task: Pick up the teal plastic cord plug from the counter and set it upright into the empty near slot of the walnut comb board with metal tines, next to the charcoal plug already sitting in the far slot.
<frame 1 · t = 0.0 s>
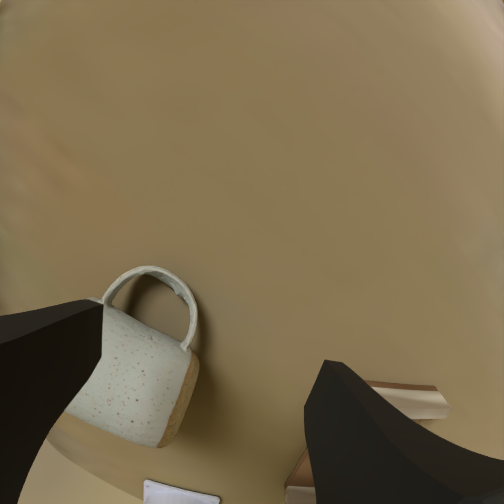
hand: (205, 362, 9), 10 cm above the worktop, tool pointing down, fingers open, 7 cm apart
ceramic mug: (144, 331, 20), on the worktop
comb board: (357, 444, 22), on the worktop
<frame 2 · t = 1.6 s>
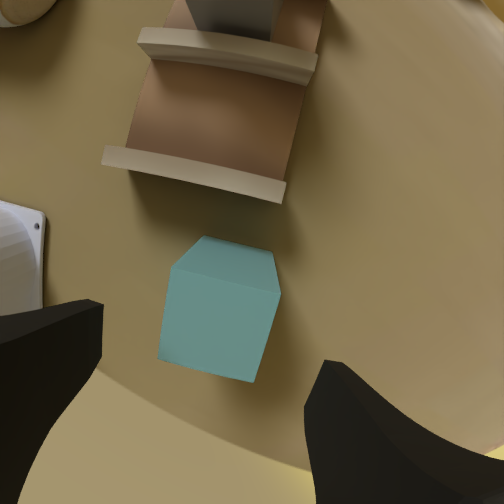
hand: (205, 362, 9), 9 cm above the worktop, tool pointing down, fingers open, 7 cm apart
teal plug: (230, 276, 18), on the worktop
grey plug: (243, 15, 14), point 1 cm above the worktop, touching comb board
comb board: (229, 65, 15), on the worktop
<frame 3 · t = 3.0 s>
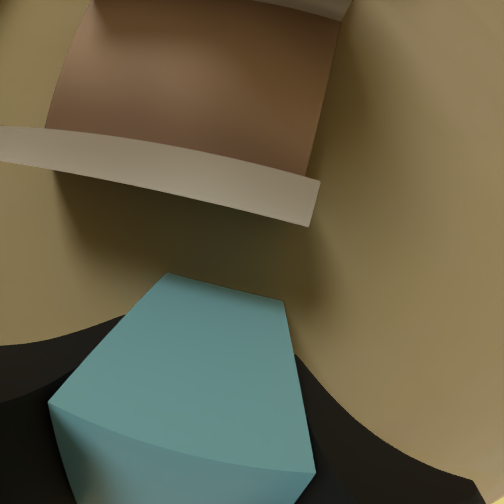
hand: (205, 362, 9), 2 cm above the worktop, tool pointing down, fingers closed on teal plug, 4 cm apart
teal plug: (212, 338, 11), on the worktop, touching gripper
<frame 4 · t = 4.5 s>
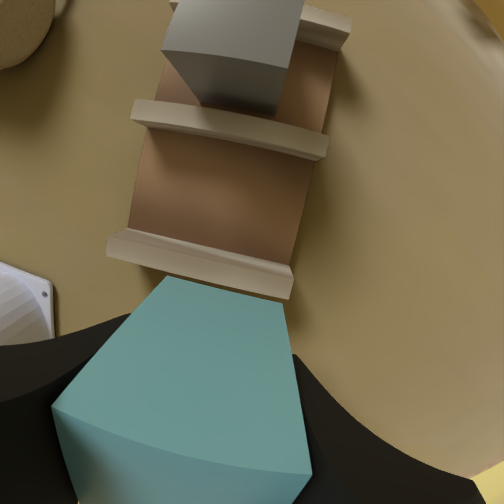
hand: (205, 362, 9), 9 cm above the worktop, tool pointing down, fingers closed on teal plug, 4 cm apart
teal plug: (212, 340, 11), point 7 cm above the worktop, touching gripper
grey plug: (245, 74, 14), point 1 cm above the worktop, touching comb board
ceramic mug: (29, 21, 14), on the worktop
comb board: (232, 134, 16), on the worktop
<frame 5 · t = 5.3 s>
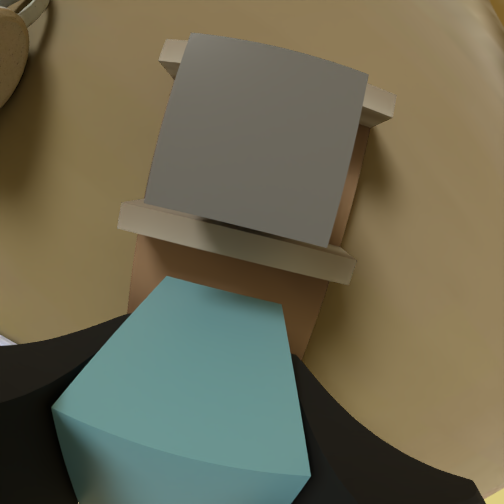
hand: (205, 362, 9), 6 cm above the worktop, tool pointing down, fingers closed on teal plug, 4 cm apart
teal plug: (212, 340, 11), point 4 cm above the worktop, touching gripper
grey plug: (257, 158, 13), point 1 cm above the worktop, touching comb board
ceramic mug: (4, 55, 12), on the worktop
comb board: (239, 230, 14), on the worktop
when the fingers open (4 cm above the worktop, at t = 6.0 s): teal plug drops 2 cm, resting on comb board.
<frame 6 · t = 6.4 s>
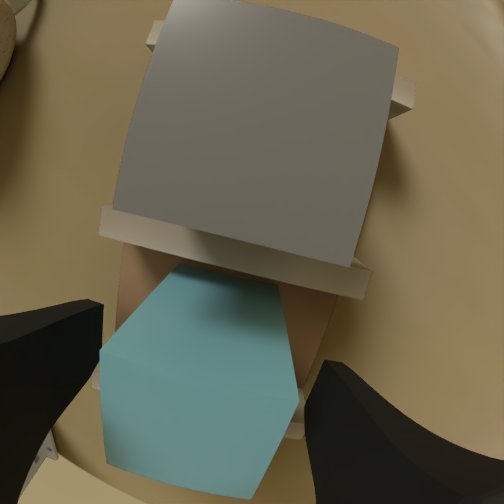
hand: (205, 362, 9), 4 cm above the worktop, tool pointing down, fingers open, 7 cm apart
teal plug: (218, 319, 13), point 1 cm above the worktop, touching comb board
grey plug: (258, 154, 11), point 1 cm above the worktop, touching comb board
comb board: (238, 235, 13), on the worktop
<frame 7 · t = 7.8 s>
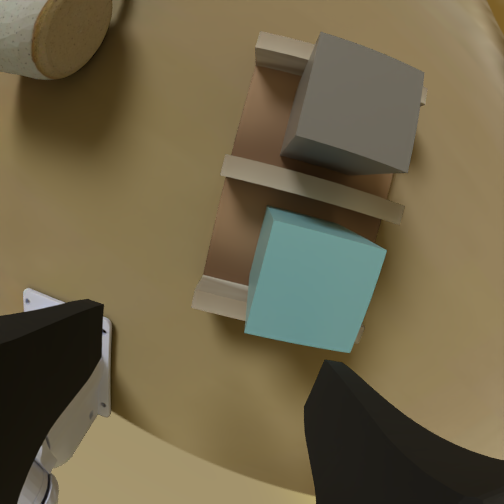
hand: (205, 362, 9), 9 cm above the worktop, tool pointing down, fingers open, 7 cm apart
teal plug: (293, 249, 17), point 1 cm above the worktop, touching comb board
grey plug: (324, 130, 16), point 1 cm above the worktop, touching comb board
ceramic mug: (75, 25, 15), on the worktop
comb board: (307, 188, 17), on the worktop
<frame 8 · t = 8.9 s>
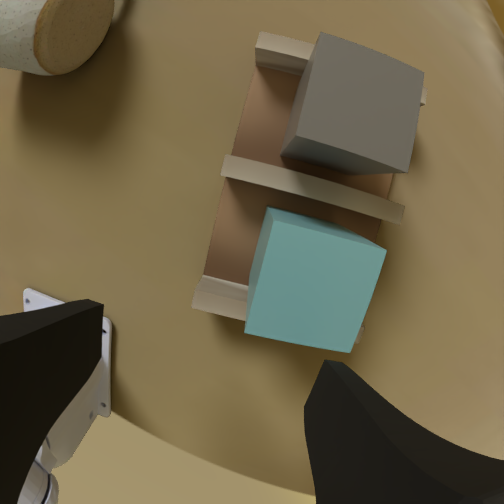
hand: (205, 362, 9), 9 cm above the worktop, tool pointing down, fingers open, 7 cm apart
teal plug: (293, 249, 17), point 1 cm above the worktop, touching comb board
grey plug: (324, 130, 16), point 1 cm above the worktop, touching comb board
ceramic mug: (76, 22, 15), on the worktop
comb board: (307, 188, 17), on the worktop
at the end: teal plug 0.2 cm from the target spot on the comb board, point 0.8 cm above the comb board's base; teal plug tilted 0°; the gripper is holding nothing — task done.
